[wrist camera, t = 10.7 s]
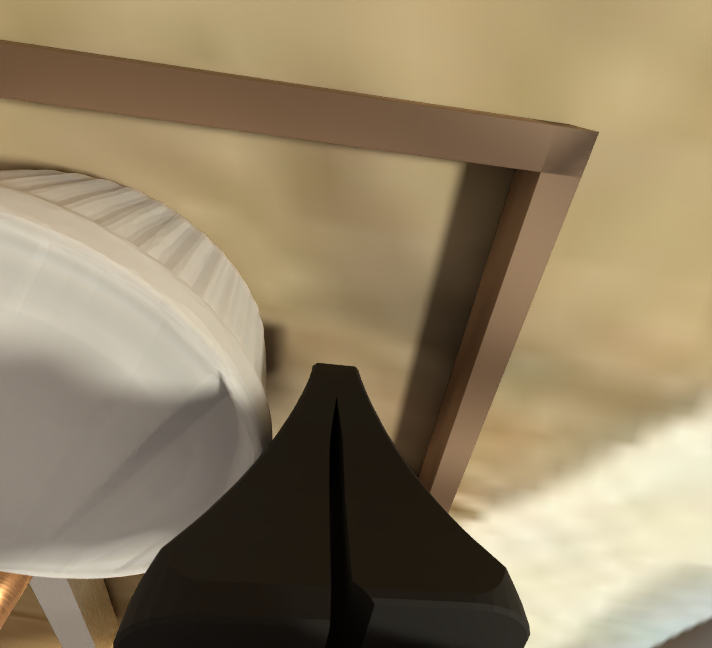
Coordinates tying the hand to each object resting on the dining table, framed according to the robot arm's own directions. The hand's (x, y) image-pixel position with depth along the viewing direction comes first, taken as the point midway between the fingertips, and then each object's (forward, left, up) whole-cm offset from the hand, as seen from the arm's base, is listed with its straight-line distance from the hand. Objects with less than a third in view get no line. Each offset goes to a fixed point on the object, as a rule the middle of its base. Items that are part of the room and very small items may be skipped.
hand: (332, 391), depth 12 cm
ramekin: (0, +7, -3) cm, 7 cm away
